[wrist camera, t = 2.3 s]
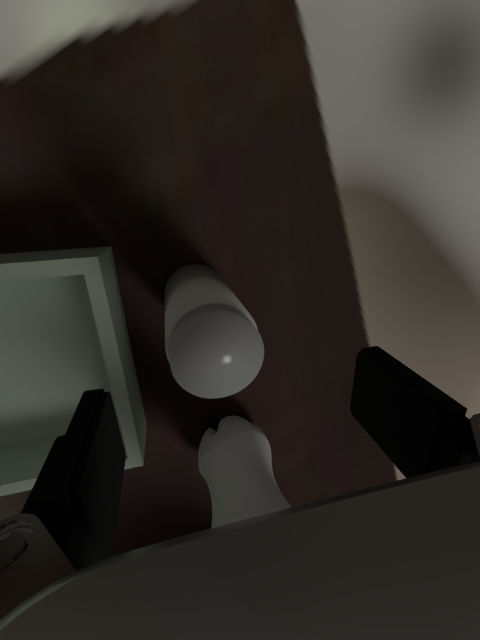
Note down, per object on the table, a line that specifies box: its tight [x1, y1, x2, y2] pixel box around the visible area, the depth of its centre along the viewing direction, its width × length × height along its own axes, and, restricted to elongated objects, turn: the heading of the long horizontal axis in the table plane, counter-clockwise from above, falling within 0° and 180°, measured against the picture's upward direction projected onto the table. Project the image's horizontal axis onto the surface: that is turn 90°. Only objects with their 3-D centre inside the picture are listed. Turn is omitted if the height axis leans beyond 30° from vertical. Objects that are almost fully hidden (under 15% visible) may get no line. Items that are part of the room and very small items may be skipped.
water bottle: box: [198, 415, 291, 528], centre depth 20 cm, size 7×7×25 cm
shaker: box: [165, 264, 264, 399], centre depth 20 cm, size 5×5×12 cm
